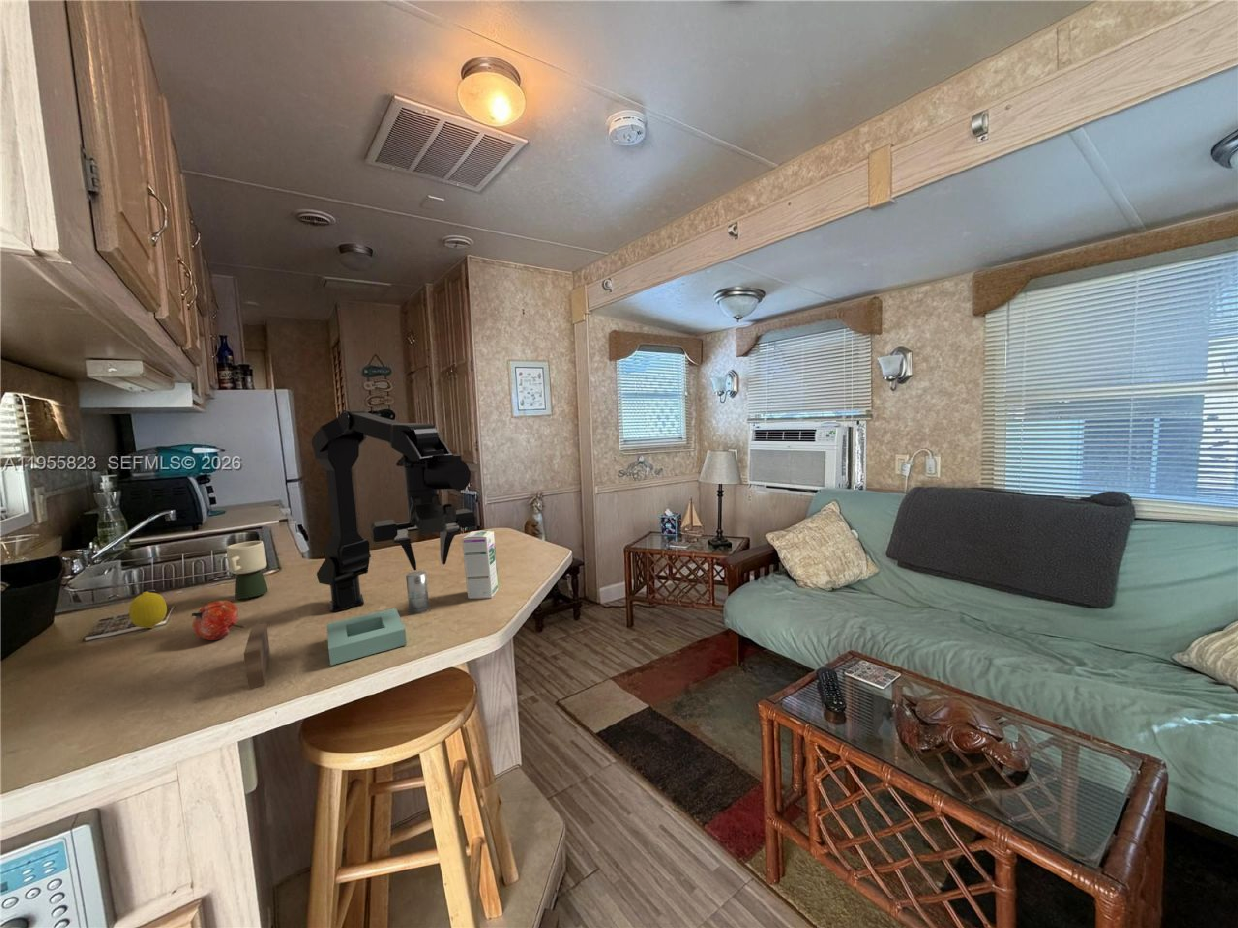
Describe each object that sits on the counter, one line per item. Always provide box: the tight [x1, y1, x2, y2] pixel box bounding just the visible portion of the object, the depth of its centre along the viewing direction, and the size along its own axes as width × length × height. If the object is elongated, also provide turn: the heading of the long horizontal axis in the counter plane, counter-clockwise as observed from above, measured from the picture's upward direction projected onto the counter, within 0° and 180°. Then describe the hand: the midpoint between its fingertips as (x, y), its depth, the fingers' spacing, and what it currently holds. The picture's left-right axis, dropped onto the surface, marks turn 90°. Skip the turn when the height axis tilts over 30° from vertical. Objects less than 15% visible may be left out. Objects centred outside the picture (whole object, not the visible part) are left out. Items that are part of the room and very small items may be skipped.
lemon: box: [128, 591, 168, 629], centre depth 98 cm, size 6×6×8 cm
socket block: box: [326, 607, 408, 667], centre depth 88 cm, size 12×12×3 cm
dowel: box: [405, 570, 430, 615], centre depth 102 cm, size 4×4×8 cm
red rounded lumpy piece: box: [191, 599, 244, 641], centre depth 93 cm, size 7×7×10 cm
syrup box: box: [461, 530, 500, 600], centre depth 109 cm, size 6×6×14 cm
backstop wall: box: [243, 622, 271, 691], centre depth 79 cm, size 12×2×6 cm, turn 33°
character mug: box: [225, 540, 269, 600], centre depth 114 cm, size 11×7×13 cm, turn 9°
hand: (429, 566), depth 93 cm, fingers open, 5 cm apart
